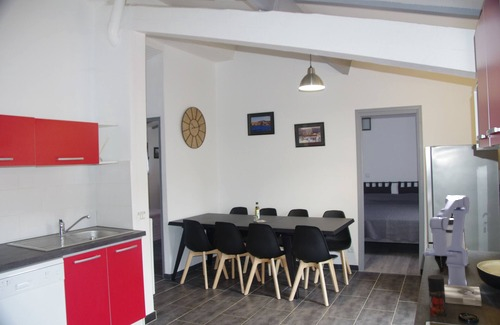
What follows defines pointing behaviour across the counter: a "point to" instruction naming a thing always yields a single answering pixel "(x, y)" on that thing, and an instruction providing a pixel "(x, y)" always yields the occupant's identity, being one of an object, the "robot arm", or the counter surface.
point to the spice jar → (437, 295)
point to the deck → (462, 295)
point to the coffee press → (449, 233)
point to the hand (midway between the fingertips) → (441, 272)
